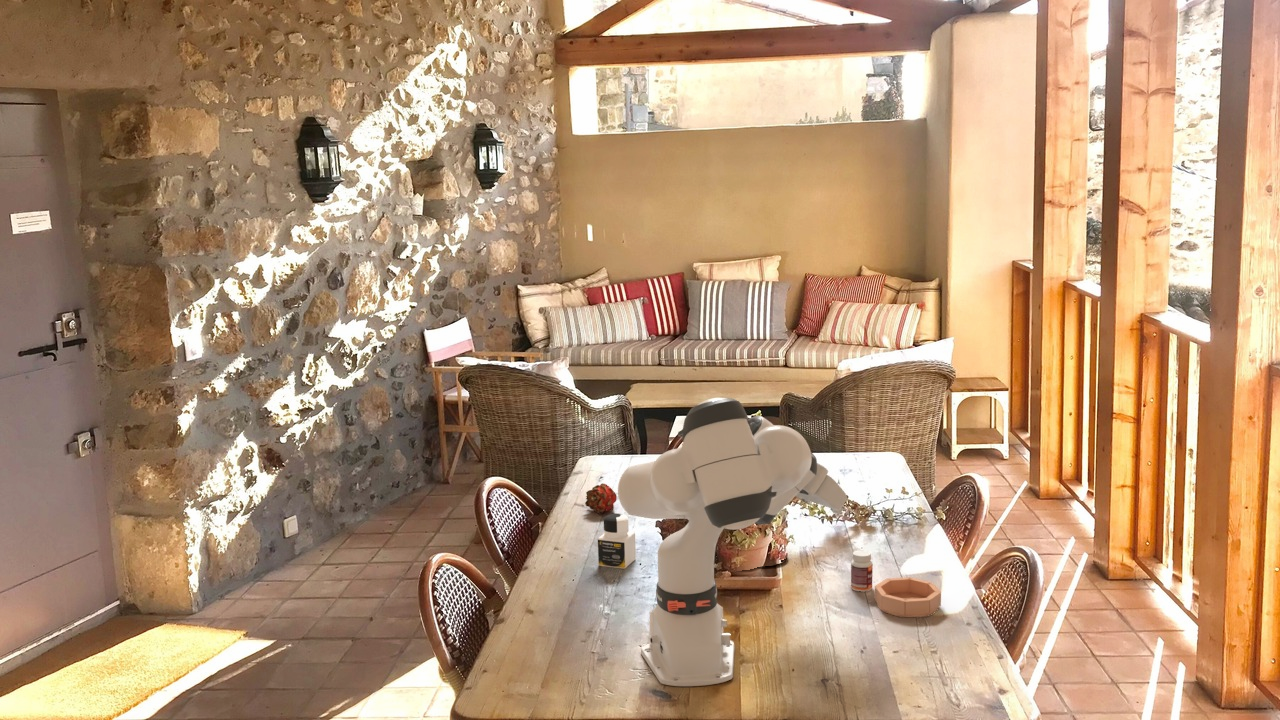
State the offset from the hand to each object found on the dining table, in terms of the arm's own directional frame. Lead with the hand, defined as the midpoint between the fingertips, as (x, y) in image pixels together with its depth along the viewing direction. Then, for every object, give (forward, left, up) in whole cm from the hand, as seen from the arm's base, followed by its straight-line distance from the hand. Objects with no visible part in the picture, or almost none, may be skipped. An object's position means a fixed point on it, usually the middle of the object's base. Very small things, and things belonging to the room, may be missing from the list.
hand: (823, 505), depth 238 cm
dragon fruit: (+72, +46, -22) cm, 88 cm away
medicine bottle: (+31, +44, -22) cm, 58 cm away
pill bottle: (+6, -10, -22) cm, 25 cm away
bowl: (-5, -17, -22) cm, 29 cm away
